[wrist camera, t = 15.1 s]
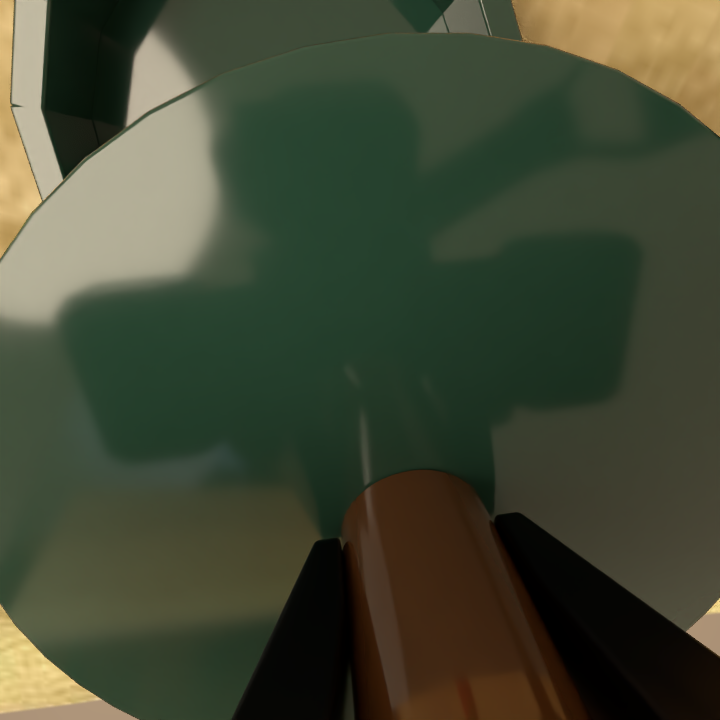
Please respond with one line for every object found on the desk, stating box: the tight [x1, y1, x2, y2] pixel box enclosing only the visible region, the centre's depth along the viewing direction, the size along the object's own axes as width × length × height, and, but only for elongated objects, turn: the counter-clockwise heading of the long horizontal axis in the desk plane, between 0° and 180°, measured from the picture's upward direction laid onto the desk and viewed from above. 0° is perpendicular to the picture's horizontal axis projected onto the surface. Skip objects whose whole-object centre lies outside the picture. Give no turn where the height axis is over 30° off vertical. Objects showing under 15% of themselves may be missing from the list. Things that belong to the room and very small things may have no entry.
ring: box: [10, 0, 522, 201], centre depth 14 cm, size 14×14×3 cm
